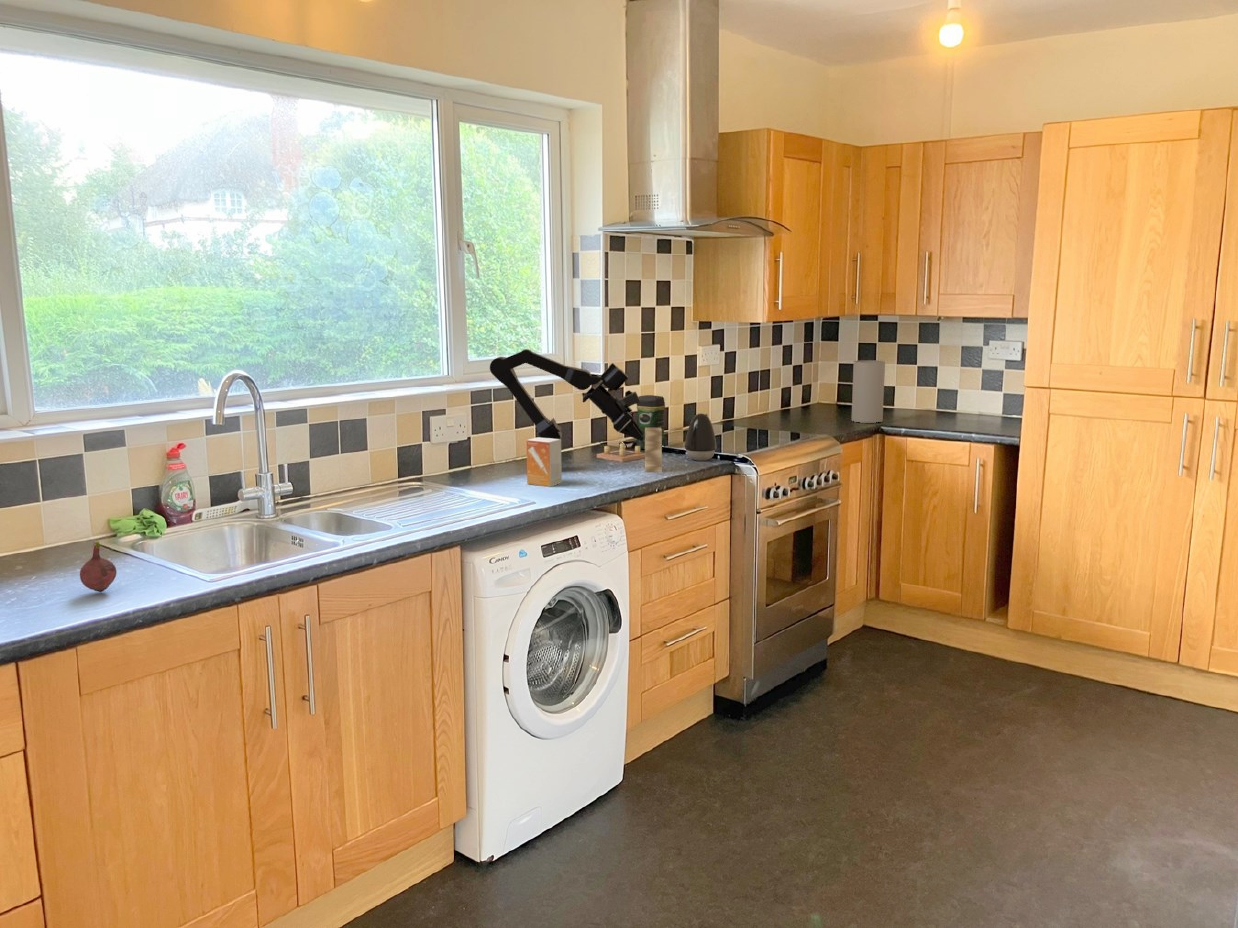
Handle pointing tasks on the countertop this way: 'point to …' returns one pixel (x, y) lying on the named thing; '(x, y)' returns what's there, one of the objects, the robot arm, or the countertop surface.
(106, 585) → the vegetable
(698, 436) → the dark egg shaped diffuser
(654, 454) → the maple block
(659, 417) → the coffee jar
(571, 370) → the robot arm
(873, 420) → the cylinder vase
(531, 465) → the small box
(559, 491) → the countertop surface
